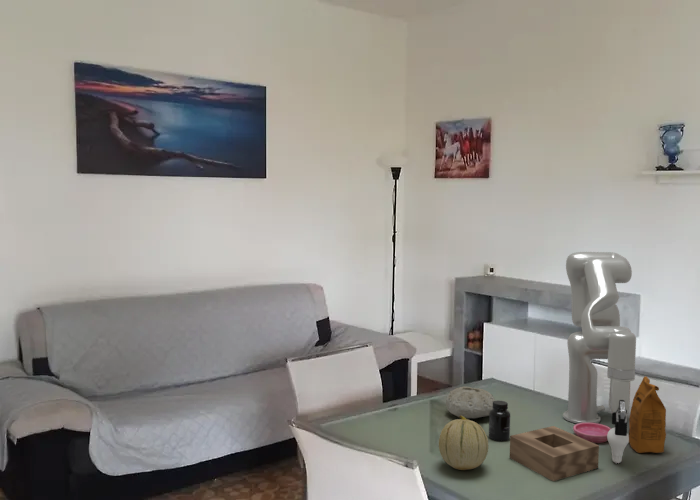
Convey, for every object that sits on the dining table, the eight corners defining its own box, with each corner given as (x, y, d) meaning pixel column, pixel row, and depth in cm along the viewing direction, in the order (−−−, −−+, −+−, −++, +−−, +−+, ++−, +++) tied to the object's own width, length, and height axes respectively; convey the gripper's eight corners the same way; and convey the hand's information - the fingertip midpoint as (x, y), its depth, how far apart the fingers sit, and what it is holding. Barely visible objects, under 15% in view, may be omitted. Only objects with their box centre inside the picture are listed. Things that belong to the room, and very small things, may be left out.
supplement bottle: (510, 442, 214) (511, 406, 212) (488, 441, 215) (489, 405, 214) (509, 434, 220) (510, 400, 219) (488, 433, 222) (489, 398, 220)
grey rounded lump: (473, 404, 250) (473, 379, 250) (506, 419, 235) (507, 391, 234) (436, 413, 241) (436, 386, 240) (468, 428, 226) (469, 400, 225)
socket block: (552, 447, 210) (553, 425, 209) (598, 468, 194) (599, 445, 193) (509, 457, 202) (510, 435, 201) (553, 481, 186) (554, 457, 185)
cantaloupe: (455, 482, 185) (456, 430, 183) (428, 462, 198) (429, 414, 197) (498, 473, 191) (500, 423, 189) (470, 454, 204) (471, 407, 203)
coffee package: (657, 441, 215) (660, 375, 213) (667, 456, 203) (671, 387, 201) (624, 439, 217) (627, 373, 215) (633, 454, 205) (636, 385, 203)
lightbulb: (602, 459, 201) (603, 424, 200) (621, 458, 201) (623, 423, 200) (611, 467, 195) (613, 431, 194) (631, 467, 195) (633, 431, 194)
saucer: (568, 439, 217) (568, 430, 216) (578, 428, 227) (579, 419, 227) (607, 448, 210) (608, 438, 210) (616, 435, 220) (617, 426, 220)
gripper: (605, 365, 204) (603, 419, 206) (610, 379, 188) (608, 438, 189) (631, 367, 202) (629, 421, 203) (638, 381, 186) (636, 441, 187)
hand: (619, 429), depth 196 cm, fingers open, 9 cm apart
